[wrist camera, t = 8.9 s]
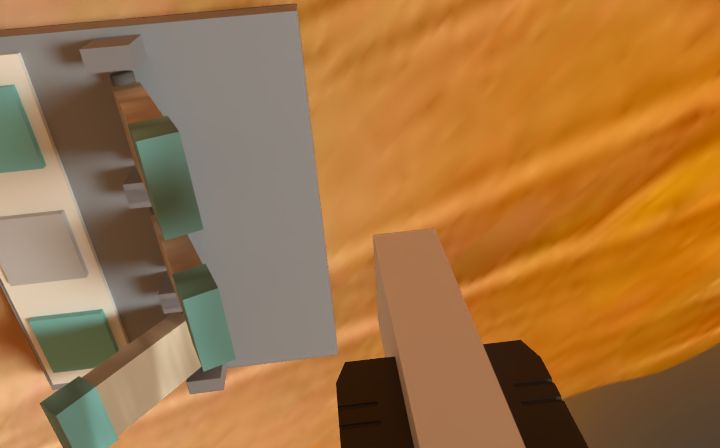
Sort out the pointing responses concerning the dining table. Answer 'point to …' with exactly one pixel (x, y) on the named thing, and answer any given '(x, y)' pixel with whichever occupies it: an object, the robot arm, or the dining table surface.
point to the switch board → (131, 201)
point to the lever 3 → (123, 386)
